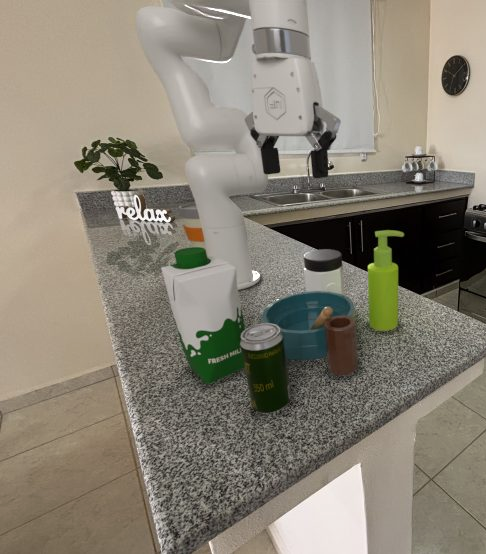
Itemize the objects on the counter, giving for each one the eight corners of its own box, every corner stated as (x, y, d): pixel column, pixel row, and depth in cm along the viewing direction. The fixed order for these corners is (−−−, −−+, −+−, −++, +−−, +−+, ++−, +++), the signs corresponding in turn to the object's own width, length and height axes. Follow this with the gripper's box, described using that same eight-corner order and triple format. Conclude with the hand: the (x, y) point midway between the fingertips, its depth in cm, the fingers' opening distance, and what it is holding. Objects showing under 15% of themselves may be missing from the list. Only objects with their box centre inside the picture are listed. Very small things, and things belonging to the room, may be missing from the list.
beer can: (288, 386, 54) (278, 319, 50) (295, 409, 50) (285, 337, 45) (250, 397, 52) (237, 327, 47) (254, 422, 47) (240, 347, 43)
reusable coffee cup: (241, 249, 117) (233, 204, 111) (207, 260, 106) (196, 211, 100) (214, 244, 121) (206, 200, 115) (179, 254, 111) (168, 206, 105)
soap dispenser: (404, 331, 70) (406, 235, 63) (370, 334, 69) (367, 236, 61) (400, 317, 75) (401, 227, 68) (368, 319, 74) (365, 228, 67)
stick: (306, 334, 67) (321, 310, 54) (311, 328, 67) (327, 303, 55) (313, 339, 67) (329, 317, 54) (318, 332, 68) (335, 309, 55)
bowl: (246, 348, 63) (240, 319, 61) (305, 310, 78) (302, 285, 75) (321, 372, 58) (318, 341, 55) (370, 326, 72) (370, 300, 69)
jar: (313, 315, 75) (308, 263, 71) (302, 301, 82) (296, 252, 77) (351, 306, 80) (349, 256, 75) (338, 293, 86) (335, 246, 82)
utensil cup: (322, 373, 57) (318, 326, 54) (339, 357, 62) (336, 312, 58) (347, 381, 56) (344, 333, 52) (362, 364, 60) (361, 318, 56)
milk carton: (235, 346, 64) (214, 241, 56) (260, 366, 59) (240, 254, 51) (182, 368, 58) (150, 254, 50) (204, 393, 52) (172, 269, 45)
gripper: (216, 49, 49) (237, 174, 56) (316, 40, 43) (326, 181, 50) (257, 59, 56) (271, 170, 62) (349, 52, 50) (354, 176, 56)
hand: (295, 175), depth 56 cm, fingers open, 9 cm apart
